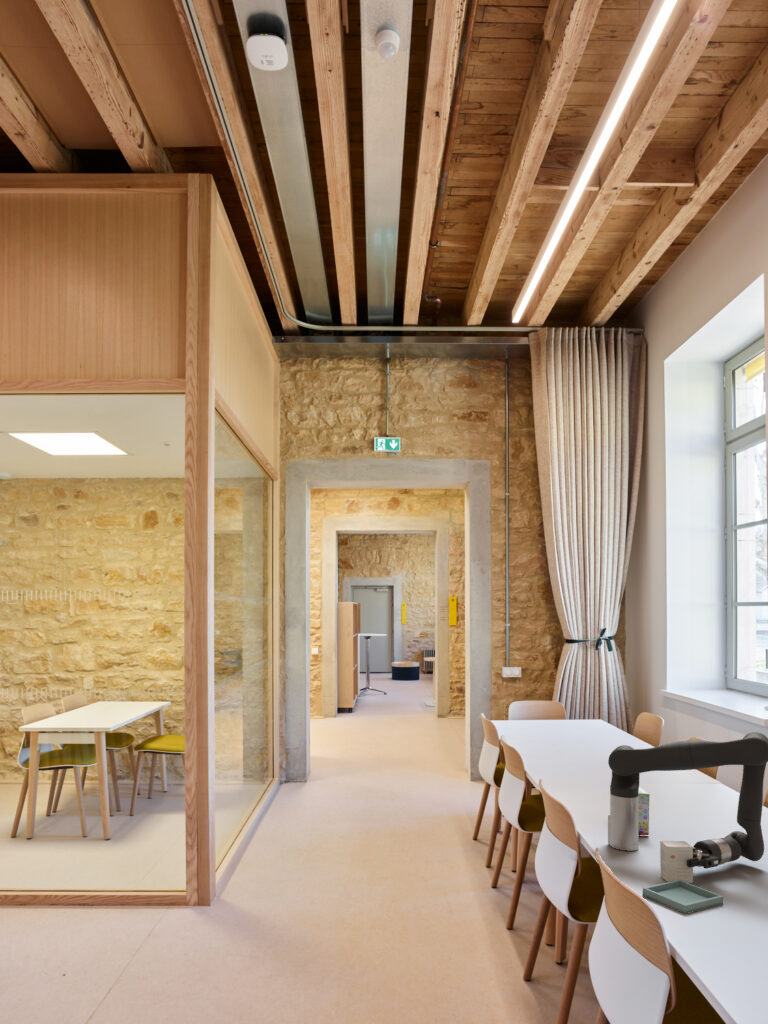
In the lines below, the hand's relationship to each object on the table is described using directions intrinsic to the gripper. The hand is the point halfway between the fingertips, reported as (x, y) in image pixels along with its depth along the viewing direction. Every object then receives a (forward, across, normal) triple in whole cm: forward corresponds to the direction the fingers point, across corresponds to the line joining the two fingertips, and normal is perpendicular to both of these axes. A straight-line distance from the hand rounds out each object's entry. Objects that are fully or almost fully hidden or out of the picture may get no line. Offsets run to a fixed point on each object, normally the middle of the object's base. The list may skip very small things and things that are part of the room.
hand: (676, 859), depth 241 cm
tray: (+11, +12, +6) cm, 17 cm away
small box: (-1, 0, +6) cm, 6 cm away
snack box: (-32, -46, +6) cm, 56 cm away
